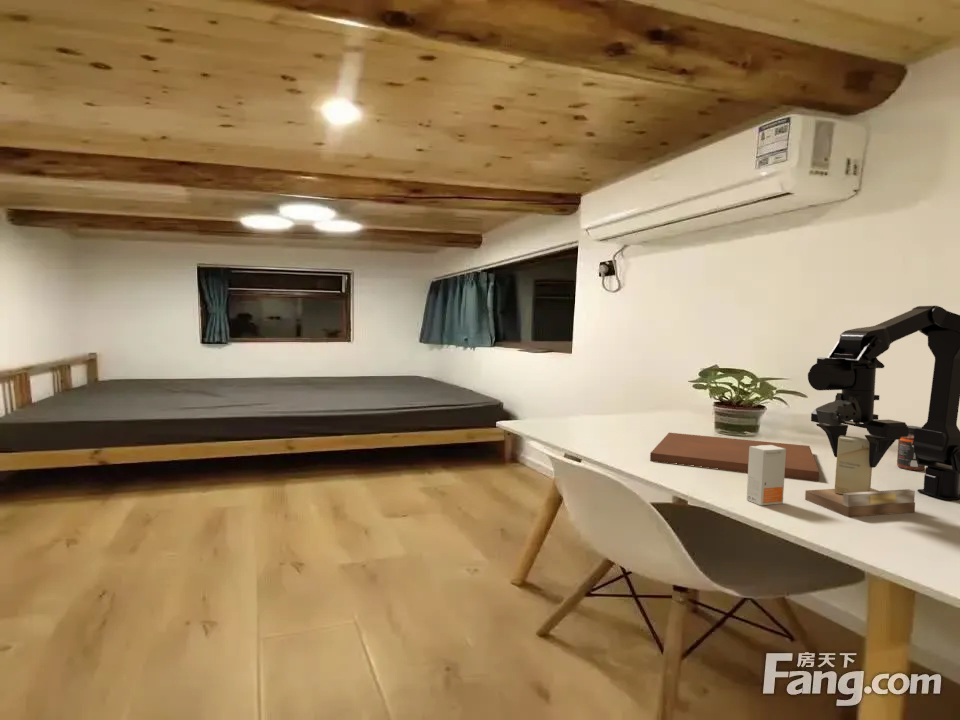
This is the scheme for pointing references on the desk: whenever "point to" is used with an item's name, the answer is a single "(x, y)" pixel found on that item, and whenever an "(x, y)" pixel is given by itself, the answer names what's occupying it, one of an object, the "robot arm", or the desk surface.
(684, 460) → the brown wooden cutting board
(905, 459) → the supplement bottle
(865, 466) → the skincare box
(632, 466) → the desk surface
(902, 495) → the brown flat block
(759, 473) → the skincare box
